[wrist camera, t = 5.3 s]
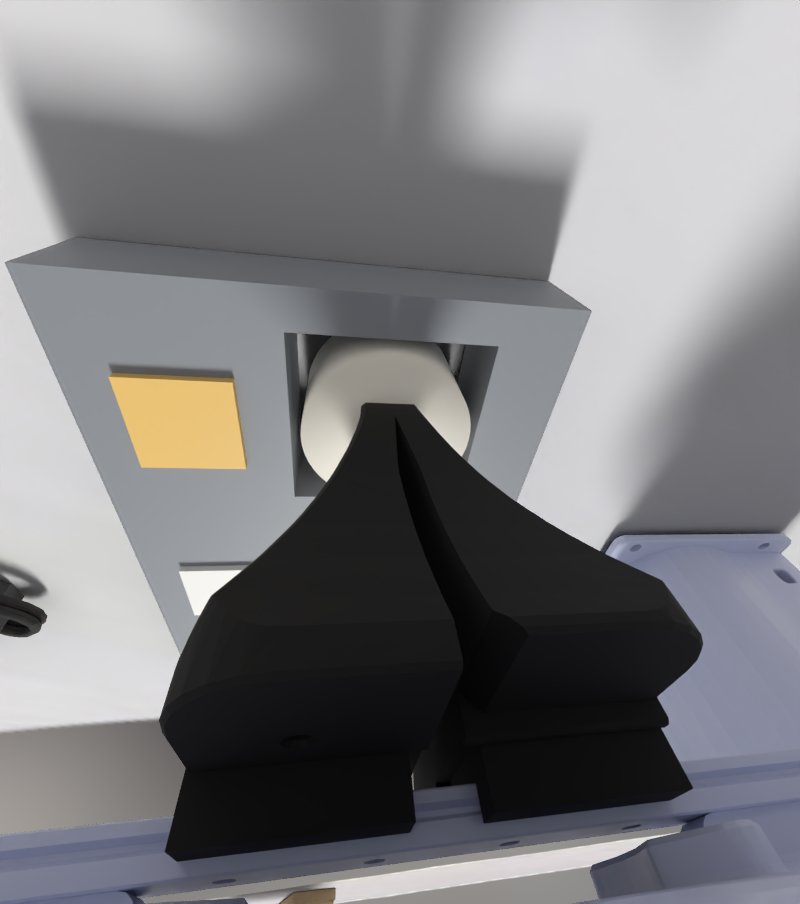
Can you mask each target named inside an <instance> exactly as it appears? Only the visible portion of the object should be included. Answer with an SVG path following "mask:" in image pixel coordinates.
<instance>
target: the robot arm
mask: <svg viewBox="0 0 800 904" xmlns="http://www.w3.org/2000/svg"><path fill="white" fill-rule="evenodd" d="M790 544H791V540H790V539H789V538H788V537H787V536H786V535H785V534H689V535H623V536H620V537H617V538H616V539H615V540H614V541H613V542H612V543H611V545H610V546H609V548H608V550H607V551H606V553H605V554H604V553H602V552H600V551H598V550H596V549H594V548H593V547H591V546H589V545H587V544H585V543H583V542H581V541H580V540H578V539H576V538H574V537H572V536H570V535H569V534H567V533H565V532H563V531H562V530H560V529H558V528H556V527H555V526H553V525H551V524H550V523H548V522H546V521H545V520H543V519H542V518H540V517H539V516H537V515H536V514H534V513H532V512H531V511H529V510H528V509H526V508H525V507H523V506H522V505H520V504H519V503H517V502H516V501H515V500H513V499H512V498H510V497H509V496H508V495H506V494H505V493H504V492H502V491H501V490H500V489H499V488H497V487H496V486H495V485H493V484H492V483H491V482H490V481H488V480H487V479H486V478H485V477H483V476H482V475H481V474H480V473H479V472H478V471H477V470H475V469H474V468H473V467H472V466H471V465H470V464H469V463H468V462H467V461H466V460H465V459H464V458H462V457H461V456H460V455H459V454H458V453H457V452H456V451H455V450H454V449H453V448H452V447H451V446H450V445H449V443H448V442H447V441H446V440H445V439H444V438H443V437H442V436H441V435H440V434H439V433H438V432H437V430H436V429H435V428H434V427H433V426H432V425H431V424H430V422H429V421H428V420H427V419H426V418H425V417H424V415H423V414H422V413H421V412H420V411H419V410H418V408H417V407H416V406H415V405H414V404H390V403H367V402H366V403H365V404H363V405H362V406H361V415H360V419H359V422H358V425H357V428H356V430H355V433H354V435H353V437H352V439H351V442H350V444H349V446H348V448H347V450H346V452H345V453H344V455H343V457H342V459H341V460H340V462H339V464H338V466H337V467H336V469H335V471H334V472H333V474H332V475H331V477H330V478H329V480H328V481H327V483H326V484H325V485H324V487H323V488H322V489H321V491H320V492H319V493H318V495H317V496H316V497H315V499H314V500H313V501H312V502H311V503H310V505H309V506H308V507H307V508H306V509H305V511H304V512H303V513H302V514H301V515H300V516H299V517H298V518H297V520H296V521H295V522H294V523H293V524H292V525H291V526H290V527H289V528H288V529H287V530H286V531H285V532H284V533H283V534H282V535H281V536H280V537H279V538H278V539H277V540H276V541H275V542H274V543H273V544H272V545H270V546H269V547H268V548H267V549H266V550H265V551H264V552H263V553H262V554H261V555H260V556H259V557H258V558H257V559H255V560H254V561H253V562H252V563H251V564H249V565H248V566H247V567H246V568H244V569H243V570H242V571H241V572H240V573H238V574H237V575H236V576H235V577H233V578H232V579H231V580H230V581H229V582H227V583H226V584H225V585H224V586H222V587H221V588H220V589H219V590H217V591H216V592H215V593H214V594H212V595H211V597H210V598H209V600H208V602H207V603H206V605H205V607H204V609H203V611H202V612H201V614H200V616H199V618H198V620H197V622H196V624H195V626H194V628H193V630H192V632H191V634H190V636H189V638H188V640H187V642H186V645H185V647H184V649H183V651H182V653H181V656H180V658H179V660H178V663H177V666H176V669H175V671H174V675H173V678H172V681H171V684H170V687H169V691H168V694H167V697H166V700H165V703H164V706H163V710H162V713H161V716H160V719H159V722H160V725H161V729H162V733H163V734H164V736H165V737H166V739H167V740H168V742H169V743H170V745H171V746H172V748H173V749H174V751H175V752H176V754H177V755H178V757H179V758H180V760H181V761H182V763H183V764H184V766H185V767H186V770H185V774H184V778H183V781H182V785H181V789H180V793H179V797H178V801H177V805H176V809H175V813H174V816H168V817H160V818H151V819H141V820H131V821H122V822H114V823H103V824H95V825H85V826H76V827H67V828H58V829H48V830H38V831H30V832H20V833H11V834H1V835H0V904H145V903H144V902H143V901H142V900H141V899H140V898H146V897H153V896H160V895H168V894H175V893H183V892H190V891H198V890H205V889H212V888H220V887H227V886H234V885H242V884H249V883H257V882H264V881H271V880H279V879H286V878H294V877H301V876H307V875H315V874H323V873H330V872H338V871H344V870H353V869H360V868H367V867H374V866H382V865H390V864H397V863H404V862H411V861H419V860H427V859H434V858H441V857H448V856H456V855H463V854H470V853H478V852H486V851H493V850H500V849H508V848H515V847H523V846H530V845H537V844H545V843H552V842H560V841H567V840H574V839H582V838H589V837H596V836H604V835H611V834H619V833H626V832H633V831H641V830H648V829H656V828H663V827H670V826H678V825H682V829H681V832H680V833H676V834H671V835H667V836H663V837H658V838H654V839H650V840H647V841H645V842H644V843H642V844H641V845H640V846H638V847H637V848H636V849H633V850H631V851H629V852H627V853H624V854H622V855H620V856H618V857H615V858H612V859H609V860H606V861H603V862H600V863H597V864H594V865H592V867H591V870H590V873H591V877H592V880H593V883H594V885H595V889H596V892H597V895H598V898H599V899H597V900H592V901H585V902H579V903H573V904H800V571H799V570H798V569H797V568H796V567H795V566H794V565H793V564H792V563H790V562H789V561H788V560H787V559H786V558H785V557H784V556H783V555H782V554H781V553H782V552H783V551H784V550H785V549H786V548H787V547H788V546H789V545H790ZM412 773H413V774H414V790H413V789H412V778H411V775H412ZM150 904H248V903H247V902H246V900H245V898H237V899H218V900H199V901H181V902H162V903H150Z"/></svg>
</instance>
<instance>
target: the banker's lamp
mask: <svg viewBox="0 0 800 904" xmlns="http://www.w3.org/2000/svg"><path fill="white" fill-rule="evenodd" d="M333 900H335V888H333V889H324V890H314V891H305V892H296V893H293V894H291V895H290V896H289V897H288V898H287V899H285V900H284V901H283V902H282V903H280V904H333Z"/></svg>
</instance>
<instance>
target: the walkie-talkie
mask: <svg viewBox="0 0 800 904" xmlns="http://www.w3.org/2000/svg"><path fill="white" fill-rule="evenodd" d="M23 598H24V595H23V594H22V593H21V592H20V591H19V590H18V589H17V588H16V587H15V586H14V585H13V584H12V583H10V584H8V583H4V582H1V581H0V634H3V635H7V636H13V637H29V636H31V635H33V634H36V633H38V632H39V631H40V629H41V626H42V624H44V623H45V622H46V619H47V615H46V614H45V612H44V611H43V610H42V609H40V608H38V607H36V606H34V605H32V604H30V603H28V602H24V601H21V600H22V599H23Z"/></svg>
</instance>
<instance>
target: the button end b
mask: <svg viewBox="0 0 800 904" xmlns="http://www.w3.org/2000/svg"><path fill="white" fill-rule="evenodd" d="M366 402H367V403H390V404H414V405H415V406H416V407H417V408H418V410H419V411H420V412H421V413H422V414H423V415H424V417H425V418H426V419H427V420H428V421H429V422H430V424H431V425H432V426H433V427H434V428H435V429H436V430H437V432H438V433H439V434H440V435H441V436H442V437H443V438H444V439H445V440H446V441H447V442H448V443H449V445H450V446H451V447H452V448H453V449H454V450H455V451H456V452H457V453H458V454H459V455H460V456H461V457H462V455H463V453H464V451H465V449H466V447H467V444H468V441H469V436H470V426H471V422H470V414H469V410H468V407H467V404H466V402H465V400H464V397H463V395H462V393H461V391H460V389H459V387H458V384H457V382H456V380H455V378H454V376H453V374H452V371H451V369H450V367H449V365H448V363H447V361H446V358H445V356H444V354H443V352H442V351H441V349H440V348H439V346H438V345H437V344H436V343H435V342H423V341H408V340H393V339H377V338H362V337H347V336H332V337H331V338H330V339H329V340H328V341H327V342H326V343H325V344H324V345H323V346H322V347H321V349H320V350H319V351H318V353H317V355H316V356H315V358H314V360H313V363H312V366H311V368H310V373H309V378H308V385H307V391H306V397H305V403H304V410H303V416H302V422H301V443H302V447H303V451H304V454H305V456H306V458H307V460H308V462H309V464H310V465H311V466H312V468H313V469H314V471H315V472H316V473H317V474H318V475H319V476H320V477H321V478H322V479H324V480H325V481H326V482H327V481H328V480H329V478H330V477H331V475H332V474H333V472H334V471H335V469H336V467H337V466H338V464H339V462H340V460H341V459H342V457H343V455H344V453H345V452H346V450H347V448H348V446H349V444H350V442H351V439H352V437H353V435H354V433H355V430H356V428H357V425H358V422H359V419H360V415H361V406H362V405H363V404H365V403H366Z"/></svg>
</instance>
